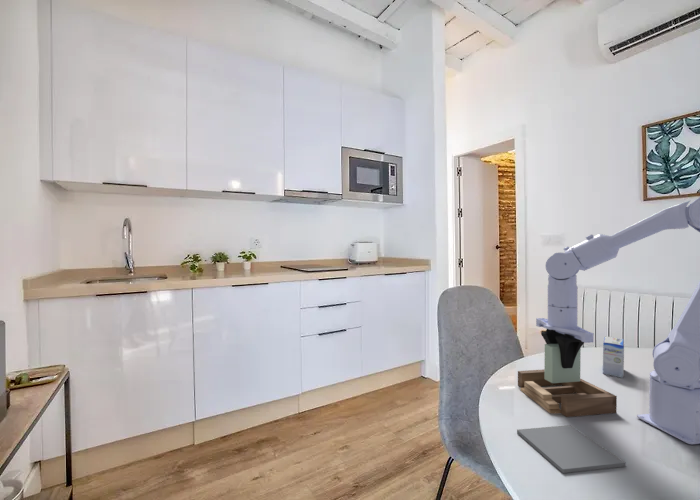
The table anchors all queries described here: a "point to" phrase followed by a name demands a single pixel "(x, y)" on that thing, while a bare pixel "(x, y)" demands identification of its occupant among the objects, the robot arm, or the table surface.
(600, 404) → the rack
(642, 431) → the table surface
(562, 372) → the panel
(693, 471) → the table surface
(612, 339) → the medicine box
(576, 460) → the mat
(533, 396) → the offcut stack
